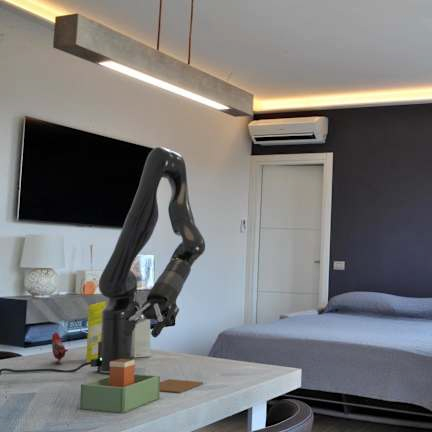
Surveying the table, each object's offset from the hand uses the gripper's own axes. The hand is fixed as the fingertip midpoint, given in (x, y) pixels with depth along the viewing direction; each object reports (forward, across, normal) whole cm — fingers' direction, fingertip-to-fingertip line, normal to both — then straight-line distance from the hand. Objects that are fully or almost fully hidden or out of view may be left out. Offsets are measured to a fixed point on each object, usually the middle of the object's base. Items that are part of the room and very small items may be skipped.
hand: (139, 335), depth 162 cm
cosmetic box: (-24, +38, -48) cm, 66 cm away
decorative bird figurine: (-9, +53, -32) cm, 63 cm away
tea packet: (+16, 0, -7) cm, 18 cm away
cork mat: (+2, -2, -22) cm, 22 cm away
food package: (-16, +48, -40) cm, 65 cm away
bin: (+16, 0, -7) cm, 18 cm away
